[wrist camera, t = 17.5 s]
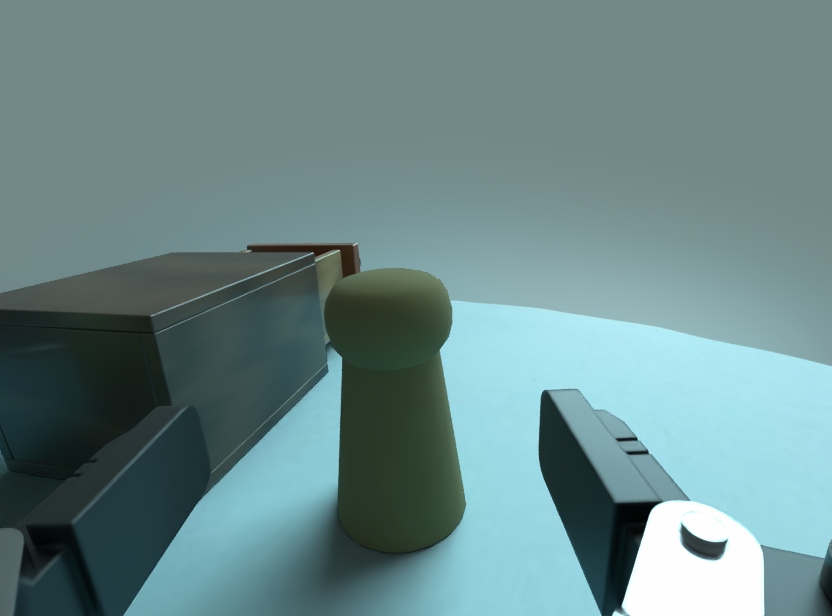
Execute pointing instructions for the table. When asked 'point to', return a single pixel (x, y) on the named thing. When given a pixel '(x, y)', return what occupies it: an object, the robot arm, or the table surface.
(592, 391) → the table surface
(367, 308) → the cork
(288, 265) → the cabinet
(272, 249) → the drawer
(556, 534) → the table surface
